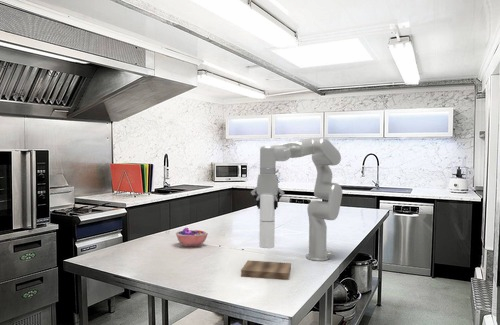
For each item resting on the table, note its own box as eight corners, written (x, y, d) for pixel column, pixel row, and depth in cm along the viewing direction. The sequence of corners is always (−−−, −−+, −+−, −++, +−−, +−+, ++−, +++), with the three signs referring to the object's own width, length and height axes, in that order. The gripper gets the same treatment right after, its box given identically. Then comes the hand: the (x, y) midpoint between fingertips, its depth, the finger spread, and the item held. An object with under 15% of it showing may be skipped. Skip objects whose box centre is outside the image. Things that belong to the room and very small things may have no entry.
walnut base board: (290, 269, 177) (291, 263, 177) (288, 279, 161) (288, 273, 161) (247, 266, 181) (247, 260, 181) (241, 276, 165) (241, 270, 165)
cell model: (202, 250, 211) (202, 231, 211) (170, 248, 215) (171, 229, 215) (211, 243, 228) (211, 226, 227) (181, 242, 232) (181, 224, 231)
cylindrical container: (265, 249, 166) (266, 195, 166) (256, 246, 172) (257, 194, 171) (277, 247, 170) (277, 194, 170) (268, 244, 176) (268, 193, 175)
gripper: (286, 171, 172) (286, 208, 173) (251, 171, 176) (250, 207, 176) (285, 172, 165) (284, 210, 165) (248, 171, 168) (248, 209, 169)
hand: (267, 208), depth 171 cm, fingers closed on cylindrical container, 7 cm apart
